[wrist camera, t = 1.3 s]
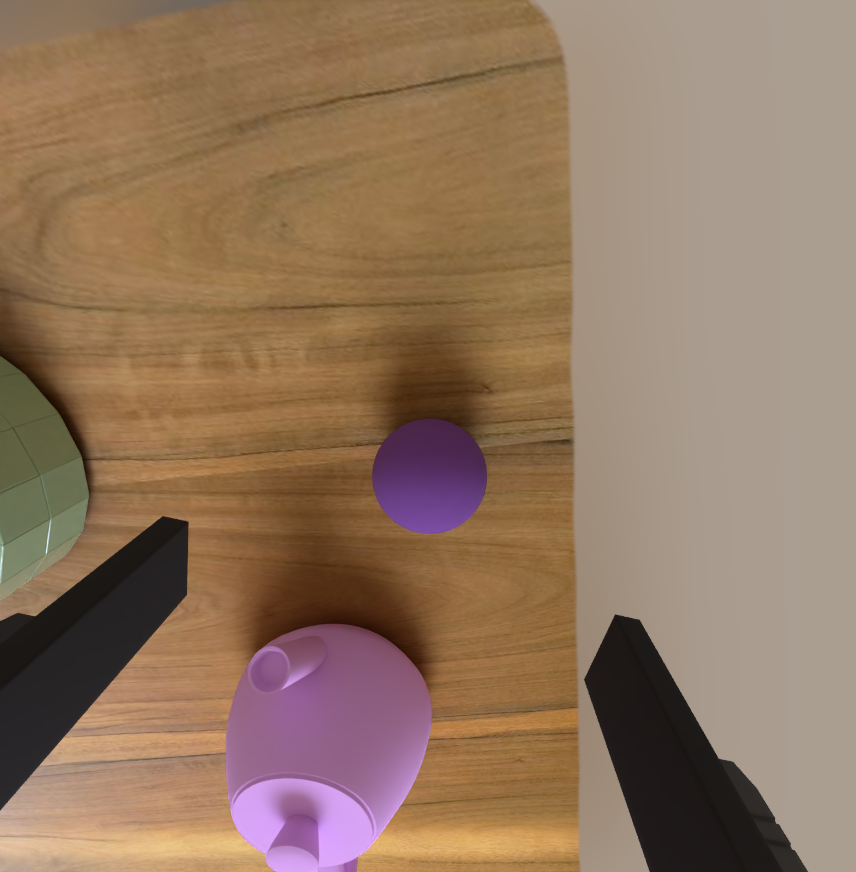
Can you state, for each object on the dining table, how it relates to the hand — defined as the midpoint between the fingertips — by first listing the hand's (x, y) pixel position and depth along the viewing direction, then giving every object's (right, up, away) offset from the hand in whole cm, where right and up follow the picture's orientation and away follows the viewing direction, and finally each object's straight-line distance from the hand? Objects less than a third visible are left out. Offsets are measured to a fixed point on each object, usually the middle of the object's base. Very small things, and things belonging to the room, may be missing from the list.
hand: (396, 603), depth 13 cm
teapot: (-6, -13, +19) cm, 23 cm away
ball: (+1, +4, +12) cm, 13 cm away
